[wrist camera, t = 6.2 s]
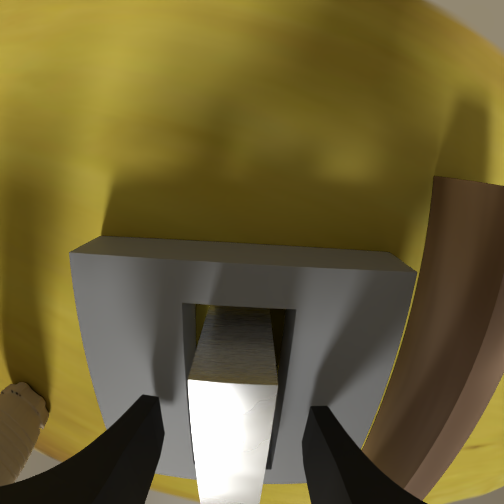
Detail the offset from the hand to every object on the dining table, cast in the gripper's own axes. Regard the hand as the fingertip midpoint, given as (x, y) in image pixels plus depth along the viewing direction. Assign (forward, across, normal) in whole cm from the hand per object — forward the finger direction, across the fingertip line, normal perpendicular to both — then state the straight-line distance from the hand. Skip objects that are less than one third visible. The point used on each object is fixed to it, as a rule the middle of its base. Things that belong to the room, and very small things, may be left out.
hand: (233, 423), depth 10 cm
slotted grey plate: (+3, 0, 0) cm, 3 cm away
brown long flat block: (+3, -8, 0) cm, 9 cm away
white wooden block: (+3, 0, 0) cm, 4 cm away
